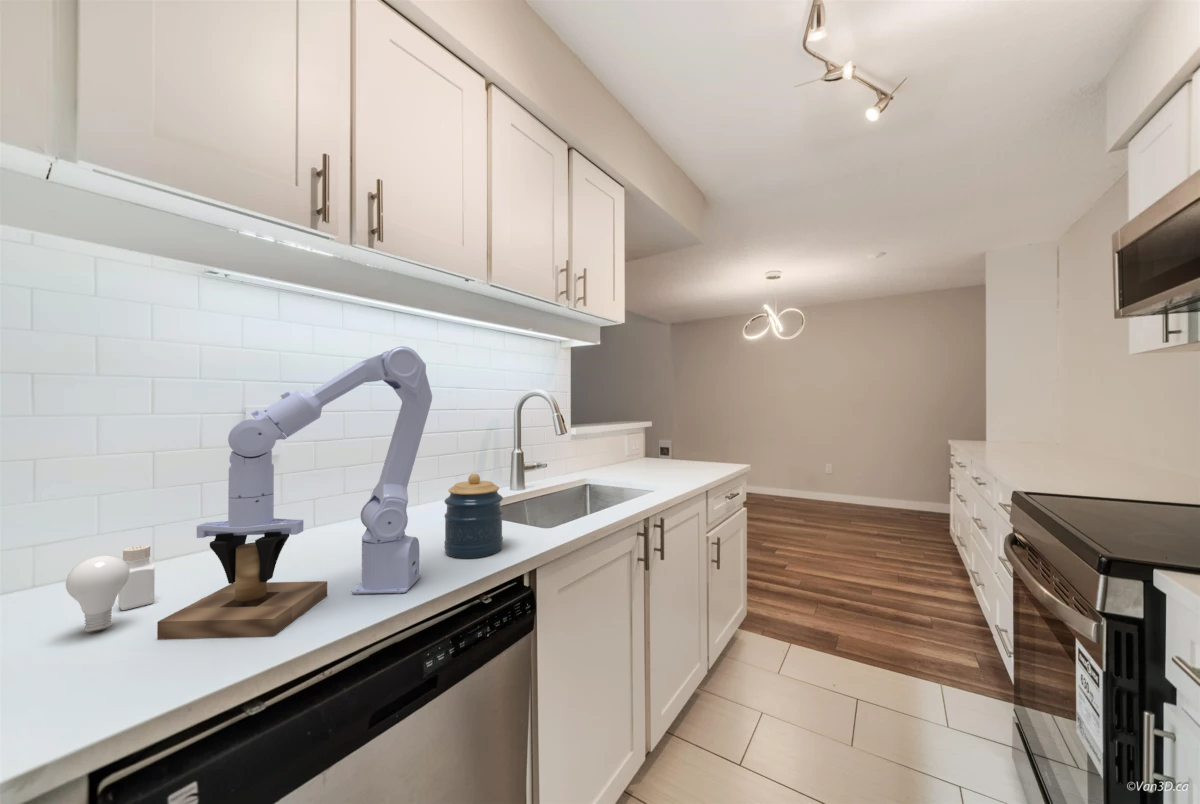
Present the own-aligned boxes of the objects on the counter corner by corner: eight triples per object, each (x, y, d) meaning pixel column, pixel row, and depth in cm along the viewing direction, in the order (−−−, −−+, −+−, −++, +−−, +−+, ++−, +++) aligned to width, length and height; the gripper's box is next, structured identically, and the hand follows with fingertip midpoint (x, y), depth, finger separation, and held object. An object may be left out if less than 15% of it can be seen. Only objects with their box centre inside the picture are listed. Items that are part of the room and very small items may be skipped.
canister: (466, 539, 112) (466, 468, 112) (513, 544, 108) (513, 470, 108) (431, 556, 100) (432, 476, 100) (482, 562, 96) (482, 479, 96)
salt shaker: (151, 597, 78) (151, 542, 79) (154, 603, 76) (155, 547, 76) (117, 605, 75) (118, 548, 75) (120, 612, 73) (120, 553, 73)
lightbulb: (61, 633, 66) (62, 558, 66) (123, 616, 71) (124, 547, 71) (69, 646, 62) (70, 566, 63) (134, 627, 68) (134, 554, 68)
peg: (271, 590, 74) (272, 541, 74) (257, 600, 70) (258, 548, 70) (244, 592, 73) (245, 542, 74) (228, 602, 70) (229, 549, 70)
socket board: (327, 595, 79) (327, 581, 79) (273, 636, 65) (273, 618, 65) (232, 597, 78) (232, 583, 78) (157, 639, 64) (157, 621, 64)
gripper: (313, 489, 77) (312, 569, 77) (219, 491, 75) (218, 573, 75) (290, 497, 70) (289, 585, 70) (186, 499, 68) (185, 590, 68)
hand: (251, 580), depth 72 cm, fingers closed on peg, 4 cm apart
